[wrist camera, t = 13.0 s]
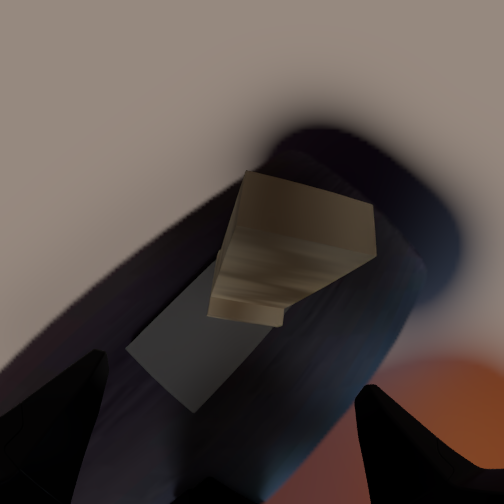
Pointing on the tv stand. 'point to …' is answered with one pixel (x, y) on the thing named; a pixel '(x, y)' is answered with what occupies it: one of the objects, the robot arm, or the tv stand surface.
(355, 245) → the tapered block
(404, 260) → the tv stand surface
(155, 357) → the slate tile
